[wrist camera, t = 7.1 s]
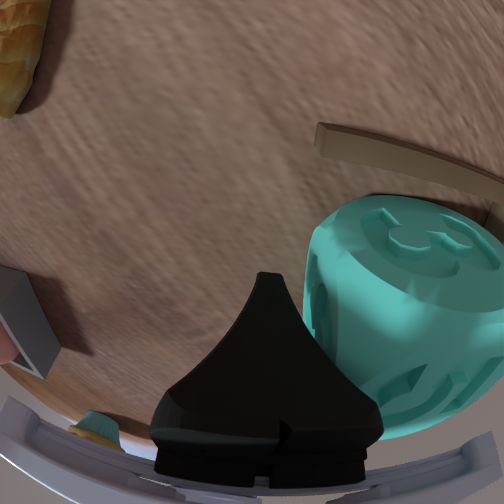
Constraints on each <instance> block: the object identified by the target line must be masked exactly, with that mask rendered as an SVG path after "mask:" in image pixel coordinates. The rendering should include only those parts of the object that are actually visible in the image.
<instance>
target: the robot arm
mask: <svg viewBox="0 0 504 504" xmlns="http://www.w3.org/2000/svg"><path fill="white" fill-rule="evenodd" d="M383 433H384V426H383V421H382V417H381V413H380V411H379V408H378V405H377V403H376V402H375V401H374V400H372V399H371V398H370V397H369V396H367V395H366V394H365V393H364V392H362V391H361V390H360V389H359V388H358V387H356V386H355V385H354V384H353V383H352V382H351V381H350V380H349V379H348V378H347V377H346V376H345V375H344V374H343V373H342V372H341V371H340V370H339V368H338V367H337V366H336V365H335V364H334V363H333V362H332V361H331V360H330V359H329V357H328V356H327V355H326V354H325V352H324V351H323V350H322V348H321V347H320V346H319V344H318V343H317V342H316V340H315V339H314V337H313V336H312V334H311V333H310V331H309V330H308V328H307V326H306V325H305V323H304V321H303V320H302V318H301V316H300V314H299V312H298V311H297V309H296V307H295V305H294V303H293V301H292V299H291V296H290V294H289V292H288V290H287V287H286V284H285V282H284V279H283V276H282V275H281V274H279V273H269V272H259V273H257V278H256V282H255V285H254V287H253V290H252V292H251V294H250V296H249V298H248V300H247V302H246V304H245V306H244V308H243V310H242V311H241V313H240V314H239V316H238V318H237V319H236V321H235V322H234V324H233V325H232V327H231V328H230V329H229V331H228V332H227V333H226V335H225V336H224V337H223V338H222V340H221V341H220V342H219V343H218V344H217V345H216V347H215V348H214V349H213V350H212V351H211V352H210V353H209V354H208V355H207V356H206V357H205V358H204V359H203V360H202V361H201V362H200V363H199V364H198V365H197V366H196V367H195V368H194V369H193V370H192V371H191V372H189V373H188V374H187V375H186V376H185V377H183V378H182V379H181V380H179V381H178V382H177V383H176V384H174V385H173V386H172V387H170V388H169V389H168V390H167V391H166V392H165V394H164V396H163V397H162V399H161V400H160V402H159V404H158V406H157V408H156V410H155V413H154V415H153V418H152V422H151V425H150V429H149V436H150V437H151V439H152V440H153V442H154V443H155V445H156V446H157V447H158V452H157V456H156V461H153V460H149V459H145V458H142V457H138V456H134V455H131V454H128V453H124V452H121V451H118V450H115V449H112V448H109V447H106V446H103V445H101V444H98V443H95V442H93V441H90V440H87V439H85V438H82V437H80V436H78V435H75V434H73V433H71V432H68V431H66V430H64V429H62V428H60V427H57V426H55V425H53V424H51V423H49V422H47V421H45V420H43V419H41V418H40V417H39V415H38V414H37V413H35V412H34V411H33V410H32V409H30V408H29V407H27V406H26V405H24V404H23V403H21V402H19V401H17V400H16V399H14V398H12V397H11V396H7V398H6V400H5V402H4V404H3V406H2V408H1V411H0V455H1V456H2V457H3V458H5V459H6V460H7V461H9V462H10V463H11V464H13V465H14V466H16V467H17V468H18V469H20V470H21V471H23V472H24V473H26V474H27V475H29V476H30V477H32V478H33V479H35V480H36V481H38V482H39V483H41V484H43V485H44V486H46V487H47V488H49V489H51V490H52V491H54V492H56V493H58V494H59V495H61V496H63V497H65V498H67V499H69V500H70V501H73V502H75V503H76V504H262V499H260V498H257V496H309V495H324V494H335V493H343V492H350V491H357V490H364V489H369V490H365V491H360V492H356V493H351V494H346V495H344V496H343V497H341V498H338V499H335V500H331V501H327V502H326V504H458V503H460V502H461V501H463V500H465V499H467V498H469V497H471V496H472V495H474V494H476V493H478V492H479V491H481V490H483V489H485V488H486V487H488V486H490V485H491V484H493V483H495V482H496V481H498V480H500V479H501V478H502V477H503V474H502V469H501V464H500V460H499V455H498V451H497V448H496V444H495V440H494V437H493V433H492V431H490V432H488V433H485V434H482V435H480V436H478V437H475V438H473V439H472V440H470V441H468V442H467V443H465V444H464V445H462V446H461V447H459V448H457V449H454V450H451V451H448V452H445V453H442V454H438V455H435V456H432V457H428V458H425V459H421V460H418V461H414V462H409V463H405V464H401V465H396V466H392V467H387V468H381V469H375V470H370V471H365V467H364V460H366V459H367V450H366V449H367V448H368V447H369V446H370V445H372V444H373V443H375V442H376V441H377V440H378V439H379V438H380V437H381V436H382V435H383ZM140 477H143V478H146V479H150V480H154V481H158V482H162V483H166V484H171V485H170V486H165V485H161V484H158V483H154V482H151V481H149V480H145V479H142V478H140Z"/></svg>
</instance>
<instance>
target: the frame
mask: <svg viewBox="0 0 504 504" xmlns="http://www.w3.org/2000/svg"><path fill="white" fill-rule="evenodd" d="M314 146H315V147H316V148H317V150H318V151H319V152H320V154H321V155H322V157H327V158H333V159H338V160H344V161H349V162H354V163H359V164H364V165H368V166H373V167H378V168H382V169H386V170H390V171H395V172H399V173H403V174H407V175H410V176H414V177H418V178H421V179H425V180H429V181H432V182H436V183H439V184H442V185H446V186H449V187H452V188H455V189H458V190H461V191H464V192H467V193H470V194H473V195H476V196H479V197H482V198H485V199H487V200H490V201H493V204H492V207H491V210H490V212H489V215H488V217H487V220H486V223H485V225H484V227H483V228H484V229H486V230H487V231H488V232H490V233H491V234H492V235H493V236H494V237H495V238H496V239H498V240H499V241H500V242H501V244H502V245H503V246H504V180H502V179H500V178H498V177H496V176H494V175H492V174H489V173H487V172H485V171H483V170H480V169H478V168H475V167H473V166H471V165H468V164H466V163H463V162H461V161H458V160H455V159H453V158H450V157H447V156H445V155H442V154H439V153H436V152H433V151H430V150H427V149H424V148H421V147H418V146H415V145H411V144H408V143H405V142H401V141H398V140H394V139H391V138H387V137H383V136H379V135H376V134H372V133H367V132H363V131H359V130H355V129H350V128H345V127H341V126H336V125H330V124H325V123H320V122H318V124H317V131H316V137H315V143H314Z"/></svg>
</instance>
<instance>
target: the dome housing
mask: <svg viewBox="0 0 504 504" xmlns="http://www.w3.org/2000/svg"><path fill="white" fill-rule="evenodd" d="M0 321H1V322H2V324H3V326H4V328H5V329H6V331H7V332H8V334H9V336H10V337H11V339H12V340H13V342H14V343H15V345H16V346H17V348H18V349H19V351H20V352H19V354H18V355H17V356H16V357H15V358H14V359H13V360H12V361H10V362H9V363H11V364H13V365H15V366H17V367H19V368H21V369H23V370H25V371H27V372H29V373H31V374H33V375H35V376H37V377H40V378H42V379H44V380H45V378H46V376H47V374H48V372H49V370H50V368H51V366H52V365H53V363H54V361H55V359H56V357H57V355H58V353H59V352H60V350H61V348H62V346H61V345H60V343H59V341H58V339H57V337H56V336H55V334H54V332H53V330H52V328H51V326H50V324H49V322H48V320H47V318H46V316H45V314H44V312H43V310H42V308H41V306H40V303H39V301H38V299H37V297H36V295H35V292H34V290H33V288H32V285H31V283H30V280H29V278H28V275H27V273H26V272H22V271H18V270H14V269H10V268H6V267H3V266H0Z"/></svg>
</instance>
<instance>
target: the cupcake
mask: <svg viewBox="0 0 504 504" xmlns="http://www.w3.org/2000/svg"><path fill="white" fill-rule="evenodd" d="M68 432H71V433H73V434H75V435H78V436H80V437H82V438H85V439H87V440H90V441H93V442H95V443H98V444H101V445H103V446H106V447H109V448H112V449H115V450H118V451H121V452H124V453H126V452H125V450H123V449H122V448H121V446H120V441H119V425H118V423H117V422H116V421H114V420H113V419H111V418H110V417H108V416H106V415H104V414H101V413H99V412H95V411H89V412H88V413H87V414H86V415H85V417H84V418H83V419H82V420H81V421H80V422H79V423H78V424H76V425H75V426H74V425H70V427H69V428H68Z"/></svg>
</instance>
